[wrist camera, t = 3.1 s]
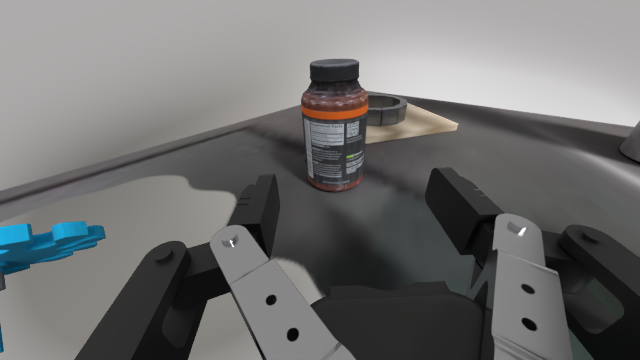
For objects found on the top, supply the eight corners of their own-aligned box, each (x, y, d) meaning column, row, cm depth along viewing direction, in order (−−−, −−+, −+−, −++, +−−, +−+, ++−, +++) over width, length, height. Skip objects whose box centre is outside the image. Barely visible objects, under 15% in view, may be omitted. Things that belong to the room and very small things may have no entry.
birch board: (398, 104, 48) (399, 99, 47) (456, 130, 35) (458, 123, 34) (306, 115, 43) (306, 109, 43) (332, 148, 30) (332, 142, 30)
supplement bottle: (325, 160, 28) (322, 56, 22) (370, 172, 25) (383, 57, 19) (296, 184, 24) (282, 64, 17) (347, 201, 21) (353, 66, 15)
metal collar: (385, 105, 44) (386, 92, 42) (417, 121, 35) (420, 105, 34) (336, 111, 42) (336, 97, 40) (358, 129, 33) (359, 112, 32)
